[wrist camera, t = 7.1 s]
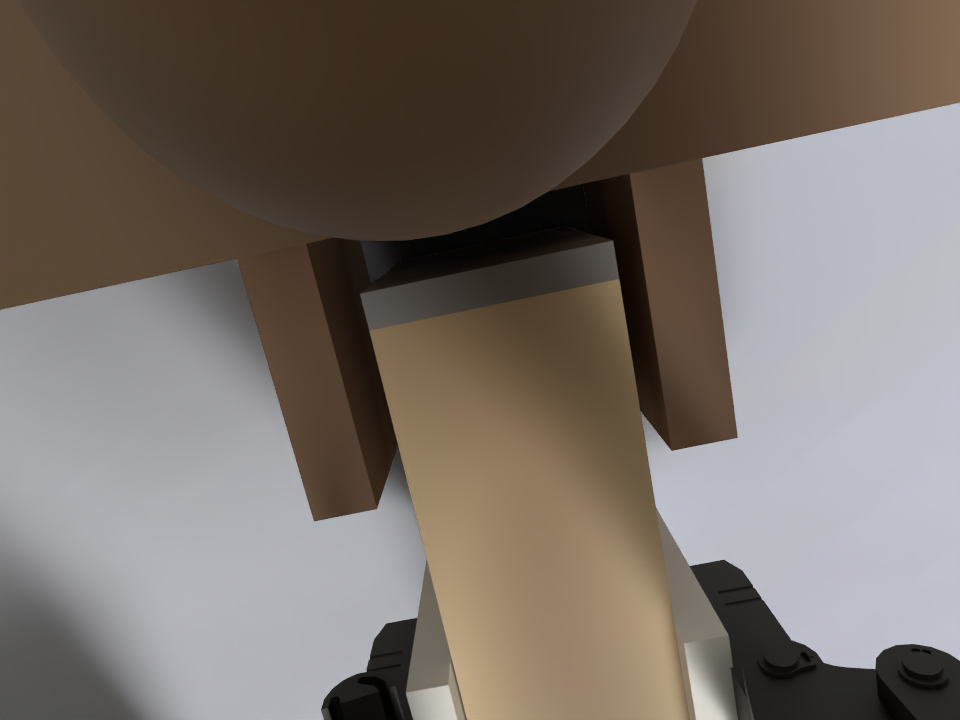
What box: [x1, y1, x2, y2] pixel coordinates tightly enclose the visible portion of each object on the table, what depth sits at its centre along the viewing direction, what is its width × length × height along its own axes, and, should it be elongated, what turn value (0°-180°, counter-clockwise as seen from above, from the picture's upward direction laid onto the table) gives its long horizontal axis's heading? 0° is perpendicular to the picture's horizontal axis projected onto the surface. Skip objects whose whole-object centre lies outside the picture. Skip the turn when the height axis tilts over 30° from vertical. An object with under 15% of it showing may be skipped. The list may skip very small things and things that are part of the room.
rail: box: [360, 226, 690, 720], centre depth 15 cm, size 4×16×6 cm, turn 12°
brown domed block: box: [0, 0, 960, 521], centre depth 9 cm, size 8×8×14 cm
